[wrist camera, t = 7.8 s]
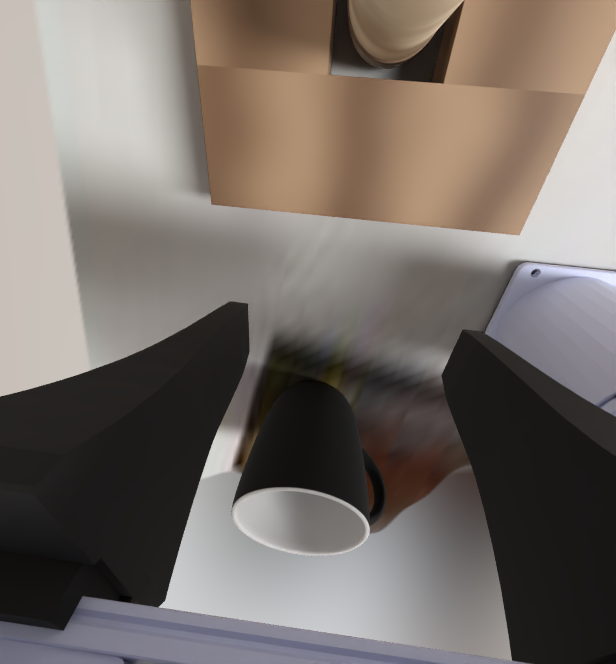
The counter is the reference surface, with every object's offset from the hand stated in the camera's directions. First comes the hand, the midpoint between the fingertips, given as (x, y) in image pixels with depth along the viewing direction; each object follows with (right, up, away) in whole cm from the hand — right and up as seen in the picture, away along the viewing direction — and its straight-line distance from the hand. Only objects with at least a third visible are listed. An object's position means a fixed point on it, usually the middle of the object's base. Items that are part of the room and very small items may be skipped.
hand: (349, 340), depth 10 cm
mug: (0, -7, +18) cm, 19 cm away
